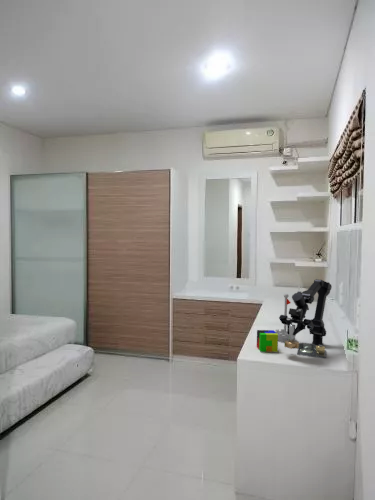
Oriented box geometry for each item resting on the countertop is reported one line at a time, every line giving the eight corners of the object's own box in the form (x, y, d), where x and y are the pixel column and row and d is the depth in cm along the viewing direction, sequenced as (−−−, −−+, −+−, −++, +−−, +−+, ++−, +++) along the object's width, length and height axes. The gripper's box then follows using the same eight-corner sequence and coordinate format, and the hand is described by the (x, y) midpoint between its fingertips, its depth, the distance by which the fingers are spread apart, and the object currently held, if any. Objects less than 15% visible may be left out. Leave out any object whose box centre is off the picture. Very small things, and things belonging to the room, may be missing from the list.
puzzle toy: (273, 346, 227) (273, 330, 226) (277, 351, 217) (278, 334, 216) (256, 346, 226) (257, 330, 226) (260, 351, 216) (260, 334, 216)
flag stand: (270, 337, 246) (271, 292, 245) (287, 336, 250) (288, 291, 249) (282, 343, 234) (283, 295, 232) (299, 341, 238) (301, 294, 237)
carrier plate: (297, 348, 224) (297, 339, 223) (326, 352, 218) (326, 342, 217) (294, 354, 213) (295, 344, 212) (325, 358, 206) (325, 348, 206)
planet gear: (285, 344, 212) (286, 322, 212) (299, 345, 209) (299, 324, 209) (283, 347, 205) (284, 326, 205) (297, 349, 202) (298, 327, 202)
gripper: (281, 300, 215) (270, 322, 208) (312, 305, 203) (302, 329, 195) (287, 312, 222) (277, 334, 214) (318, 317, 209) (308, 341, 201)
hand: (290, 334), depth 206 cm, fingers closed on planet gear, 3 cm apart
